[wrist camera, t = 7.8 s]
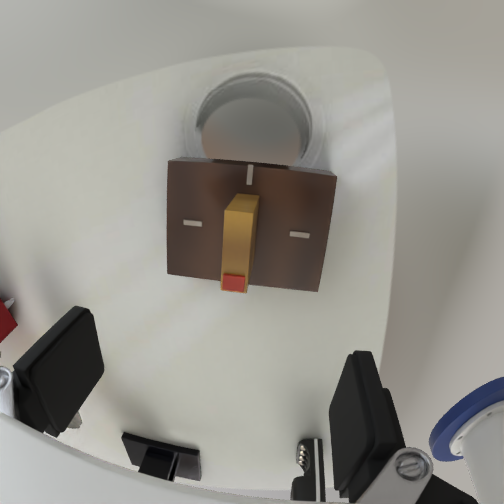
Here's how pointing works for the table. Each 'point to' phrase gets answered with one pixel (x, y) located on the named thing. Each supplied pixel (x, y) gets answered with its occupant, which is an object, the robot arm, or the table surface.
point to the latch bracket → (162, 458)
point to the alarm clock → (6, 320)
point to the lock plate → (268, 224)
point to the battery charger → (310, 472)
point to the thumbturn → (239, 242)
